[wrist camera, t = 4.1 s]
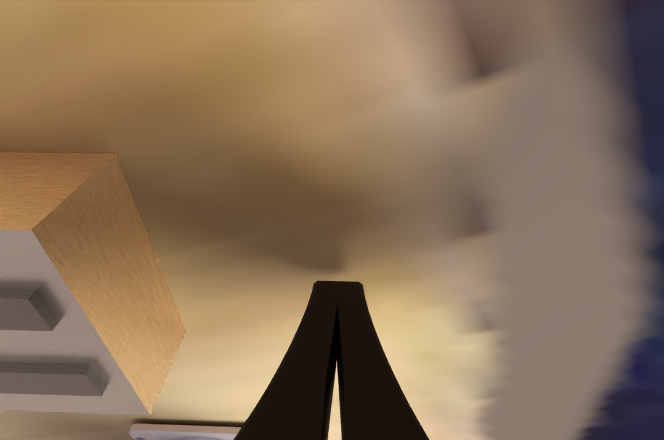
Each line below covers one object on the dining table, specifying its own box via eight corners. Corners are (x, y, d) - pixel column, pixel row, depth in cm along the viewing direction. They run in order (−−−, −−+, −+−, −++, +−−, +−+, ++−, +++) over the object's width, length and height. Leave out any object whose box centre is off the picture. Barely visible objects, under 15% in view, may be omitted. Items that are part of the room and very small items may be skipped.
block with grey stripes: (188, 324, 15) (146, 424, 12) (1, 319, 16) (-89, 417, 12) (120, 148, 10) (20, 239, 7) (-150, 145, 11) (-361, 232, 8)
